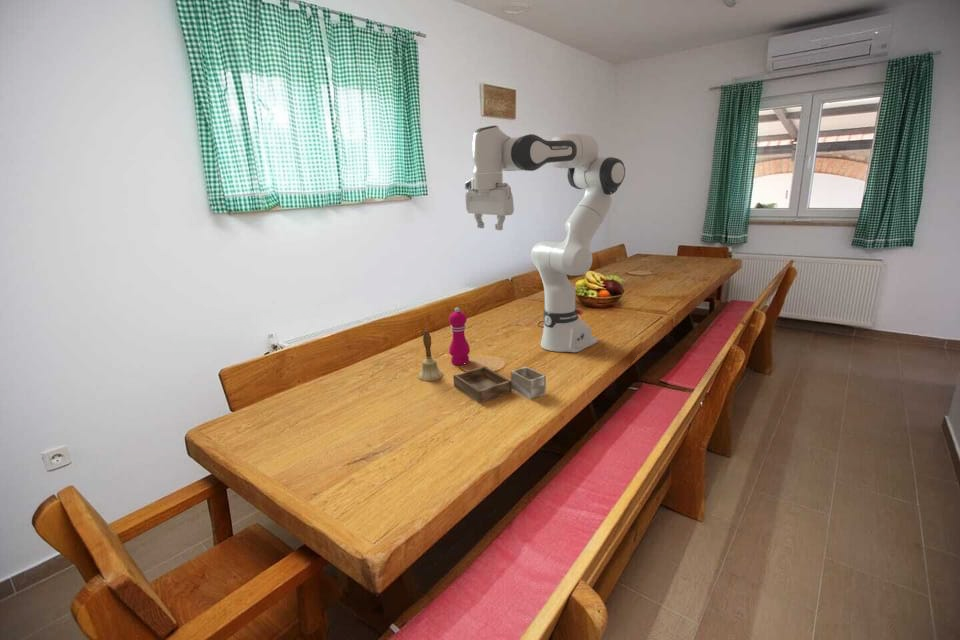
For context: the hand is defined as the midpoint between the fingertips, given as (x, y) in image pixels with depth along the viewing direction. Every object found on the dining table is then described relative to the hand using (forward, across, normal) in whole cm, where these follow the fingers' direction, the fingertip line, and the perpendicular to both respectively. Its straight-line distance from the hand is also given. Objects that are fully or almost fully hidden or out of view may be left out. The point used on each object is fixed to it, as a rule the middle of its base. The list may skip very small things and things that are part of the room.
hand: (489, 229), depth 146 cm
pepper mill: (+47, +11, +7) cm, 49 cm away
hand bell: (+47, +8, +21) cm, 52 cm away
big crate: (+46, -12, +14) cm, 50 cm away
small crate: (+47, -22, +4) cm, 52 cm away
